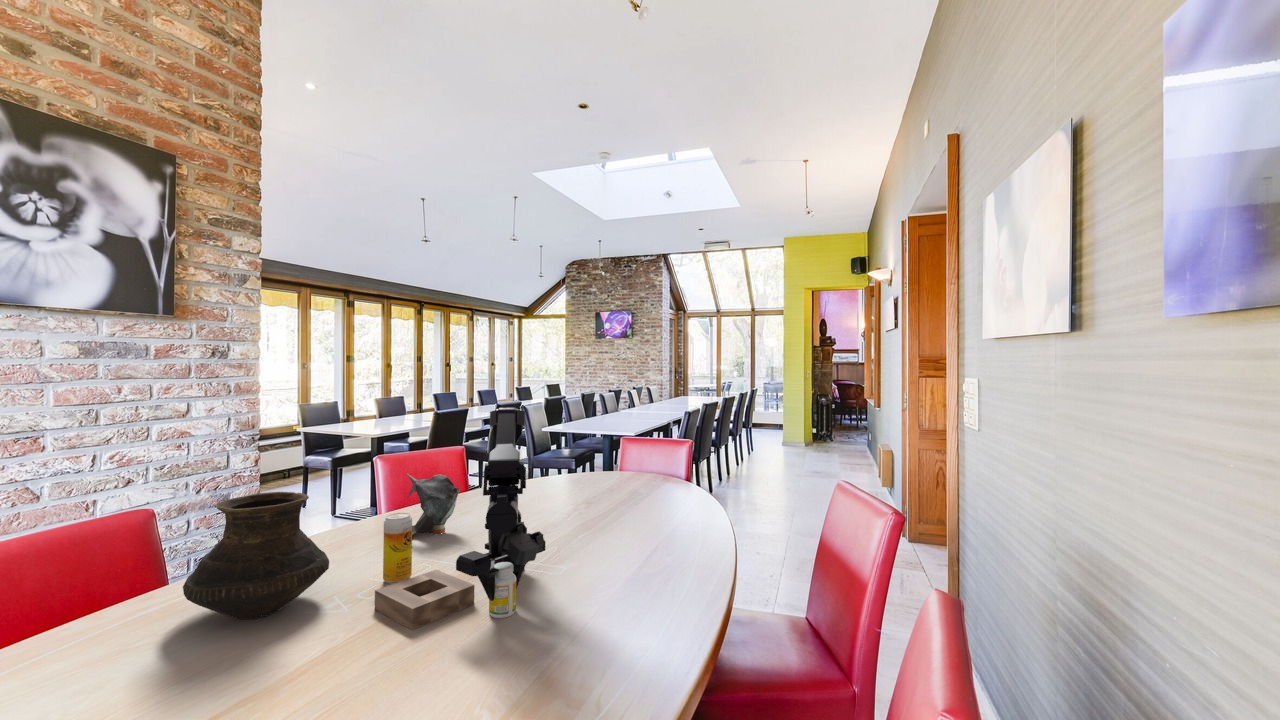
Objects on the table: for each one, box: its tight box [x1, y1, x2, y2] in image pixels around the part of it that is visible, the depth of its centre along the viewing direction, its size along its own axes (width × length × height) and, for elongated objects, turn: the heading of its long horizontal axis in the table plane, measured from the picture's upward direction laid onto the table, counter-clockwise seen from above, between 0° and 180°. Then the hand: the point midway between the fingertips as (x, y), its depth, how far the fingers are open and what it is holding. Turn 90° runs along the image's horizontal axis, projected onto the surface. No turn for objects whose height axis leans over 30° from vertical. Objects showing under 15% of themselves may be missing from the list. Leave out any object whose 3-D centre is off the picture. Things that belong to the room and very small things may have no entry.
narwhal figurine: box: [406, 473, 461, 536], centre depth 158 cm, size 14×15×18 cm
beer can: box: [382, 512, 413, 585], centre depth 125 cm, size 6×6×15 cm
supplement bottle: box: [488, 562, 517, 619], centre depth 108 cm, size 5×5×10 cm
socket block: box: [374, 569, 475, 631], centre depth 111 cm, size 14×14×4 cm
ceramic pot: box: [182, 491, 330, 620], centre depth 109 cm, size 24×24×22 cm
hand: (502, 595), depth 108 cm, fingers closed on supplement bottle, 5 cm apart
